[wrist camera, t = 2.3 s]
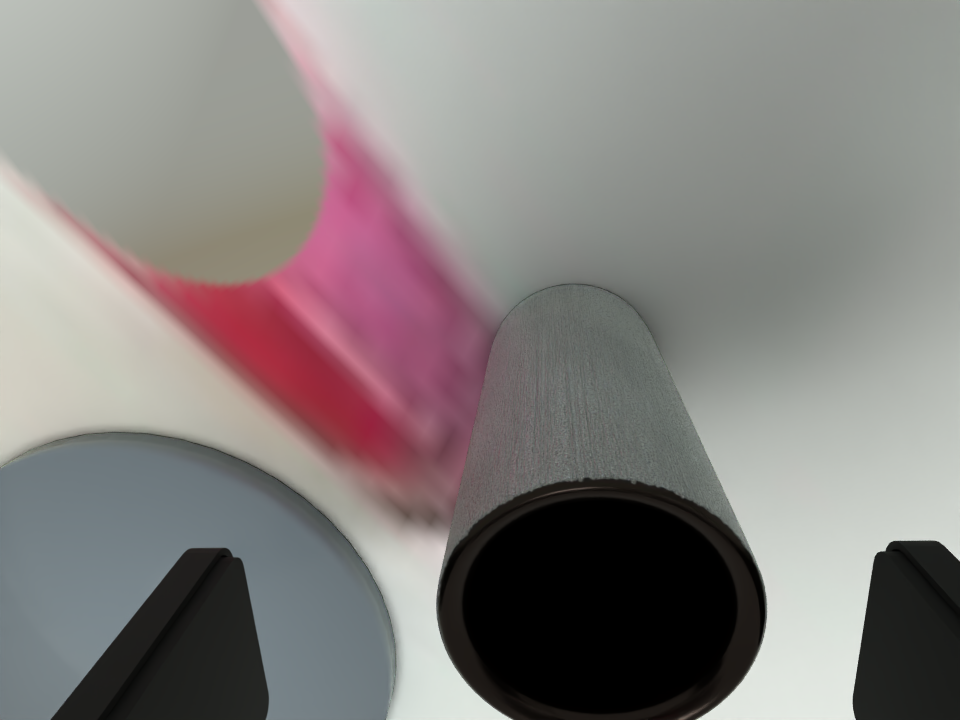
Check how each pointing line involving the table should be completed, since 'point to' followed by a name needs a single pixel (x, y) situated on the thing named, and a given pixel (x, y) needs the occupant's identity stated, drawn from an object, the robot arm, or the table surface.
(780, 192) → the table surface
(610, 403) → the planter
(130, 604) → the dish
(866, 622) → the robot arm
